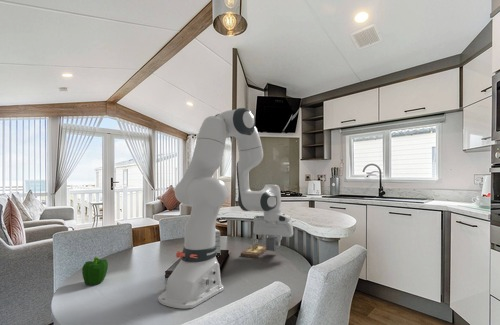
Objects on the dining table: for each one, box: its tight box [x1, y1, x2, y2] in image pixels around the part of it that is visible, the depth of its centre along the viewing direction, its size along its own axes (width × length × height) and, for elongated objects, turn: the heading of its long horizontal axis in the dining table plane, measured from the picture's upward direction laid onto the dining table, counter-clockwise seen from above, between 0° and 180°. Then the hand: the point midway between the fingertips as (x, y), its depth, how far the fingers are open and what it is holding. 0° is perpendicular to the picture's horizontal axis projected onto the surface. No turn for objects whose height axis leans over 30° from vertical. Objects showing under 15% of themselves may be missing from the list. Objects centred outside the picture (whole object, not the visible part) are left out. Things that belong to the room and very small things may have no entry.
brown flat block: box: [240, 239, 268, 259], centre depth 125 cm, size 16×9×6 cm, turn 156°
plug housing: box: [265, 235, 281, 252], centre depth 119 cm, size 9×4×6 cm, turn 156°
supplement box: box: [215, 228, 221, 254], centre depth 122 cm, size 7×7×13 cm
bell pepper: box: [81, 256, 109, 286], centre depth 92 cm, size 8×8×10 cm
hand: (272, 244), depth 119 cm, fingers closed on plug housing, 4 cm apart
